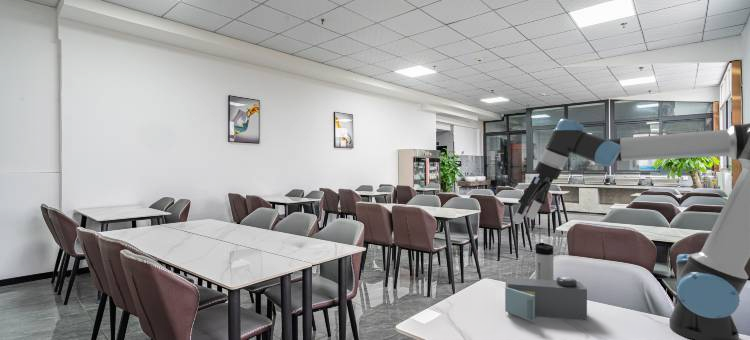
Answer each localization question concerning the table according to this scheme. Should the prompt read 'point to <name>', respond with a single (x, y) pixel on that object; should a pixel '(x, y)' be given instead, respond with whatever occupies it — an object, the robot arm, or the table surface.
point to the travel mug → (544, 261)
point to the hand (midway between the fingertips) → (523, 219)
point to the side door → (520, 304)
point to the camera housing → (554, 296)
